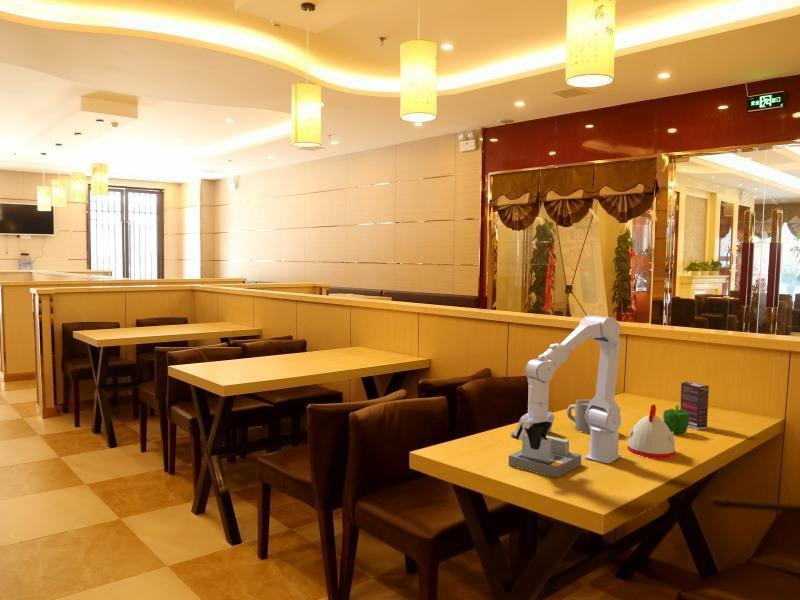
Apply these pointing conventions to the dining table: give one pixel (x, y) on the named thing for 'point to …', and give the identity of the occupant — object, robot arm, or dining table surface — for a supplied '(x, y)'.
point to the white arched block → (521, 430)
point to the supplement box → (695, 404)
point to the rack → (561, 464)
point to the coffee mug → (580, 415)
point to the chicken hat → (652, 438)
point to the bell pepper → (676, 420)
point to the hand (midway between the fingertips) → (537, 447)
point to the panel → (539, 450)
